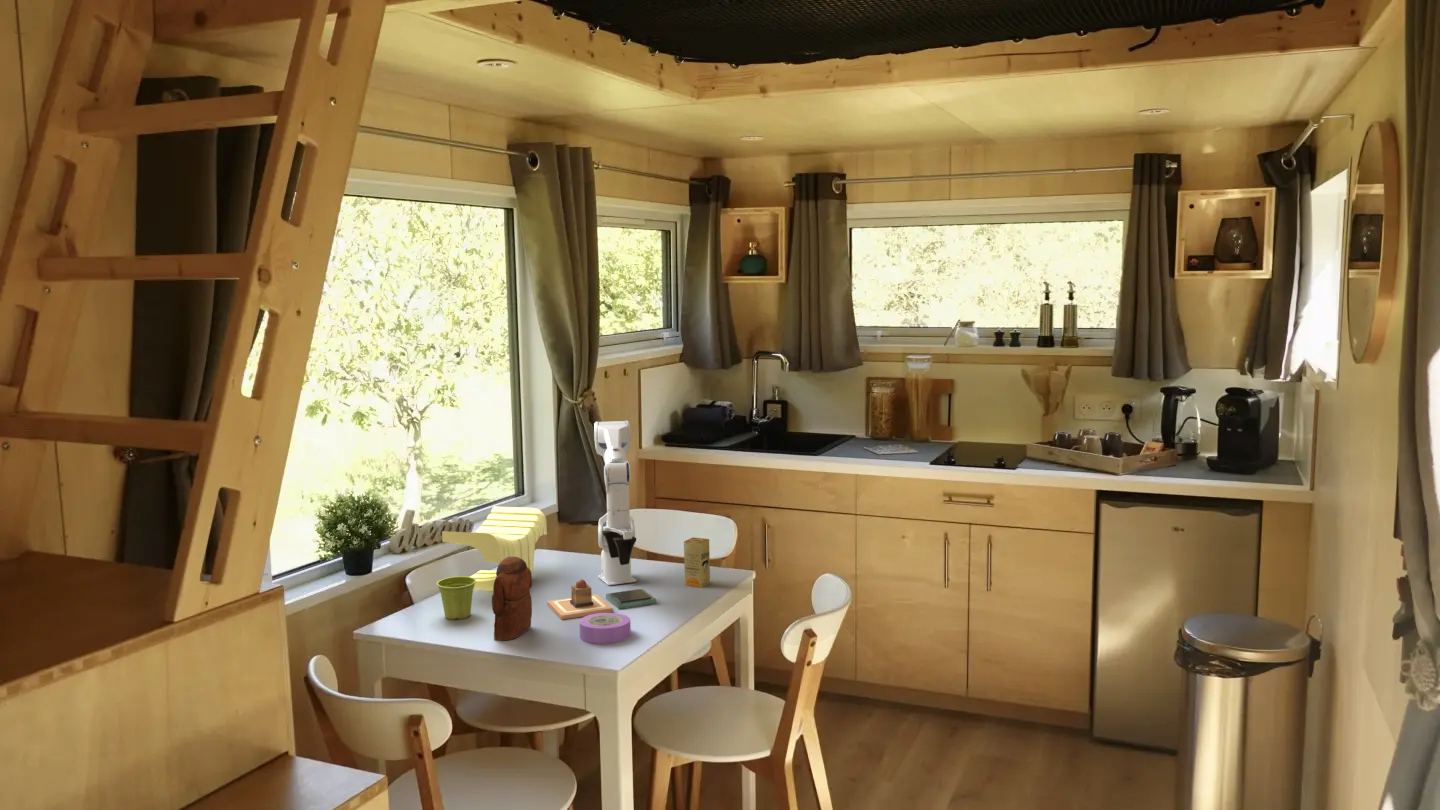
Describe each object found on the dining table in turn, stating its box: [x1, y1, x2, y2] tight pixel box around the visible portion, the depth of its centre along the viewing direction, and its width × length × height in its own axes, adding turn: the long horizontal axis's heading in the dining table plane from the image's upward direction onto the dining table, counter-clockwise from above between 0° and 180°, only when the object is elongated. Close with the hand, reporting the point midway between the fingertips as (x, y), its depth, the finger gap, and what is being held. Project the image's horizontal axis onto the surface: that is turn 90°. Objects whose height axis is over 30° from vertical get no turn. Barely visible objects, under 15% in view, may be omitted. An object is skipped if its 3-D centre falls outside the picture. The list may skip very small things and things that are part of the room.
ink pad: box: [605, 588, 657, 610], centre depth 272 cm, size 10×10×2 cm
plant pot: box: [436, 575, 476, 620], centre depth 262 cm, size 9×9×9 cm
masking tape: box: [579, 612, 632, 645], centre depth 247 cm, size 12×12×4 cm
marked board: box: [546, 593, 614, 621], centre depth 267 cm, size 13×13×1 cm
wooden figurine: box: [491, 557, 533, 641], centre depth 248 cm, size 12×6×18 cm, turn 164°
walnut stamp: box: [570, 579, 593, 608], centre depth 267 cm, size 5×5×6 cm
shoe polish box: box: [683, 537, 711, 589], centre depth 286 cm, size 5×5×12 cm
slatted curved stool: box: [441, 506, 548, 592], centre depth 289 cm, size 30×16×18 cm, turn 166°
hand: (619, 560), depth 275 cm, fingers open, 7 cm apart
